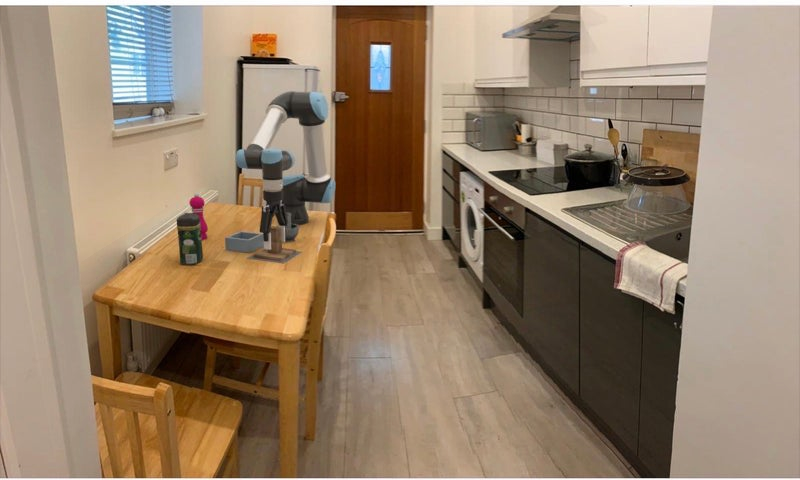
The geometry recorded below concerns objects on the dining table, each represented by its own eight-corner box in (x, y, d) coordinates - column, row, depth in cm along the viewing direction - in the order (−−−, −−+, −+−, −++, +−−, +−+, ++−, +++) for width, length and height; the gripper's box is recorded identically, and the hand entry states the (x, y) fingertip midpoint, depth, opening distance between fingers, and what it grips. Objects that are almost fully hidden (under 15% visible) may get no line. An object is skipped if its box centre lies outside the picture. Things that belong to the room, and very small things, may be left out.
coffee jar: (183, 258, 210) (179, 211, 205) (204, 257, 212) (201, 211, 206) (177, 266, 201) (173, 217, 196) (200, 265, 202) (196, 217, 197)
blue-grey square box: (240, 244, 230) (240, 231, 228) (264, 247, 227) (263, 233, 225) (225, 251, 219) (224, 237, 218) (249, 254, 216) (249, 240, 215)
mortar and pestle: (298, 244, 232) (297, 217, 229) (275, 244, 231) (275, 217, 228) (299, 237, 243) (299, 211, 240) (278, 237, 242) (277, 211, 238)
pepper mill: (187, 239, 234) (183, 194, 229) (197, 235, 241) (194, 191, 236) (201, 241, 233) (198, 195, 227) (211, 237, 239) (208, 192, 234)
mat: (267, 249, 225) (267, 247, 224) (302, 253, 220) (302, 251, 220) (246, 260, 210) (246, 258, 210) (283, 265, 206) (283, 263, 205)
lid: (269, 249, 222) (268, 222, 219) (295, 252, 219) (295, 225, 216) (253, 257, 211) (252, 229, 208) (281, 261, 208) (280, 233, 205)
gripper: (266, 196, 196) (268, 254, 202) (295, 185, 217) (296, 238, 223) (247, 194, 198) (250, 252, 204) (279, 184, 219) (280, 236, 225)
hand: (274, 245), depth 214 cm, fingers open, 10 cm apart
